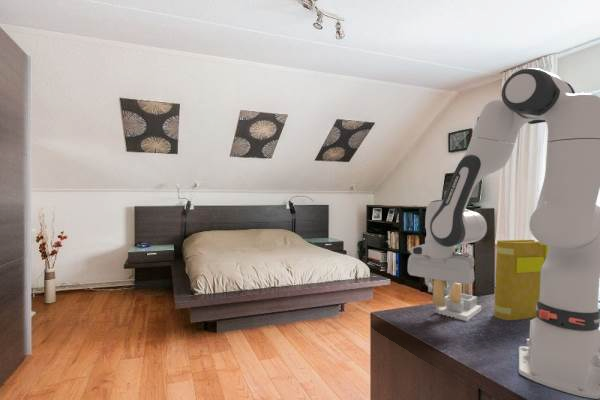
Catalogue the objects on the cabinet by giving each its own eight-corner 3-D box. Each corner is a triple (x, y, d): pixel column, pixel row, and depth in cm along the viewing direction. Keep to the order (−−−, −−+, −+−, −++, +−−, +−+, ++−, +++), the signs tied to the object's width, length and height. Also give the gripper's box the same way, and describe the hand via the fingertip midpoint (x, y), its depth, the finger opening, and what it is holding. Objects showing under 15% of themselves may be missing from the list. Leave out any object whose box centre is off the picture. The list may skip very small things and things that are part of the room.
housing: (466, 321, 110) (468, 288, 110) (435, 313, 117) (436, 281, 117) (481, 310, 121) (482, 280, 121) (451, 303, 128) (452, 274, 128)
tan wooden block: (442, 307, 109) (443, 278, 109) (431, 304, 111) (431, 276, 112) (446, 304, 112) (447, 276, 112) (435, 302, 114) (436, 275, 114)
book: (526, 310, 123) (529, 239, 122) (545, 316, 116) (548, 242, 116) (488, 314, 117) (492, 240, 117) (506, 321, 111) (509, 243, 110)
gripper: (477, 252, 107) (477, 298, 107) (414, 246, 121) (413, 286, 121) (470, 255, 102) (470, 302, 102) (405, 247, 116) (405, 289, 116)
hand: (439, 293), depth 112 cm, fingers closed on tan wooden block, 4 cm apart
